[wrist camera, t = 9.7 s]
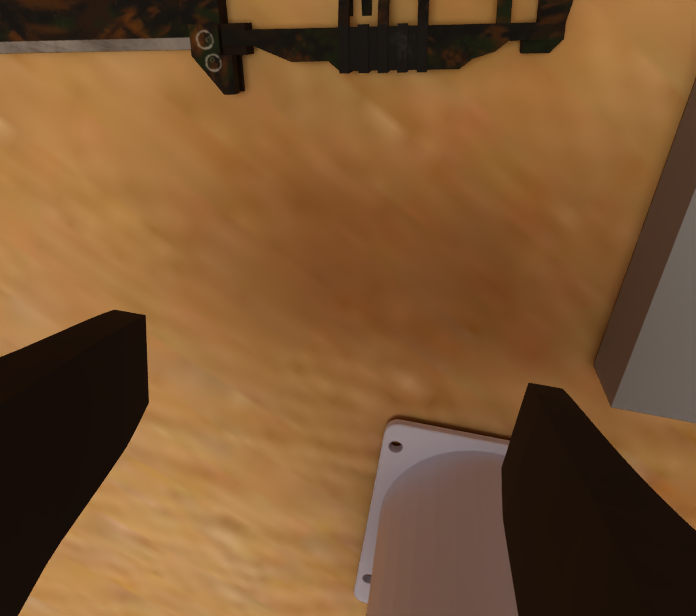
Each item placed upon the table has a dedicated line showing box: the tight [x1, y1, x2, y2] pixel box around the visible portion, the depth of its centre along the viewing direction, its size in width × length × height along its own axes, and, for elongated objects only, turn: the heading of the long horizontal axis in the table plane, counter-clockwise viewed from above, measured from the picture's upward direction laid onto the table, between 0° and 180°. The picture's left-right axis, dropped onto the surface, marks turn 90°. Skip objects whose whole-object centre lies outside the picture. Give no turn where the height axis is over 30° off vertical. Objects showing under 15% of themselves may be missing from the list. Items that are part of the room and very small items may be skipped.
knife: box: [0, 0, 573, 95], centre depth 17 cm, size 25×6×1 cm, turn 86°
